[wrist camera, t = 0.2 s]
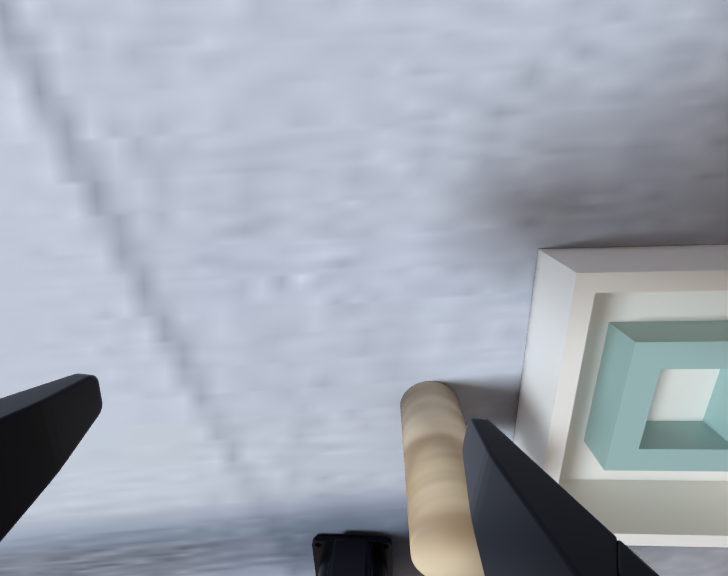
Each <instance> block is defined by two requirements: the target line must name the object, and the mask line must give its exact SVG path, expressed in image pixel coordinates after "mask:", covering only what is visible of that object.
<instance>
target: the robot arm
mask: <svg viewBox="0 0 728 576" xmlns="http://www.w3.org/2000/svg"><path fill="white" fill-rule="evenodd" d="M101 409H102V398H101V393H100V387H99V381H98V379H97V377H96V376H94V375H88V374H74V375H71V376H68V377H65V378H61V379H58V380H55V381H52V382H49V383H46V384H43V385H40V386H37V387H34V388H31V389H28V390H25V391H22V392H19V393H16V394H13V395H10V396H7V397H4V398H1V399H0V542H1V541H2V539H3V538H4V537H5V536H6V535H7V533H8V532H9V531H10V530H11V529H12V527H13V526H14V525H15V524H16V523H17V521H18V520H19V519H20V518H21V517H22V515H23V514H24V513H25V512H26V511H27V509H28V508H29V507H30V506H31V505H32V504H33V502H34V501H35V500H36V499H37V498H38V496H39V495H40V494H41V493H42V492H43V490H44V489H45V488H46V487H47V486H48V484H49V483H50V482H51V481H52V479H53V478H54V477H55V476H56V475H57V473H58V472H59V471H60V469H61V468H62V467H63V465H64V464H65V462H66V461H67V460H68V458H69V457H70V455H71V454H72V452H73V451H74V450H75V448H76V447H77V445H78V444H79V443H80V441H81V440H82V438H83V437H84V435H85V434H86V433H87V431H88V430H89V428H90V427H91V425H92V424H93V423H94V421H95V420H96V418H97V417H98V415H99V414H100V412H101ZM462 454H463V462H464V470H465V477H466V485H467V492H468V500H469V507H470V514H471V521H472V525H473V530H474V534H475V538H476V542H477V547H478V551H479V555H480V559H481V563H482V567H483V571H484V575H485V576H659V575H658V574H657V573H656V572H655V571H654V570H653V569H652V568H650V567H649V566H648V565H647V564H646V563H645V562H644V561H643V560H641V559H640V558H639V557H638V556H637V555H636V554H635V553H634V552H633V551H632V550H630V549H629V548H628V547H627V546H626V545H625V544H624V543H623V542H622V541H620V540H618V541H617V537H616V536H615V535H614V534H613V533H612V532H611V531H609V530H608V529H607V528H606V527H605V526H604V525H603V524H602V523H601V522H600V521H599V520H597V519H596V518H595V517H594V516H593V515H592V514H591V513H590V512H589V511H588V510H587V509H585V508H584V507H583V506H582V505H581V504H580V503H579V502H578V501H577V500H576V499H575V498H573V497H572V496H571V495H570V494H569V493H568V492H567V491H566V490H565V489H564V488H563V487H561V486H560V485H559V484H558V483H557V482H556V481H555V480H554V479H553V478H552V477H551V476H549V475H548V474H547V473H546V472H545V471H544V470H543V469H542V468H541V467H540V466H539V465H537V464H536V463H535V462H534V461H533V460H532V459H531V458H530V457H529V456H528V455H527V454H525V453H524V452H523V451H522V450H521V449H520V448H519V447H518V446H517V445H516V444H515V443H513V442H512V441H511V440H510V439H509V438H508V437H507V436H506V435H505V434H504V433H503V432H501V431H500V430H499V429H498V428H497V427H496V426H495V425H494V424H493V423H492V422H491V421H489V420H488V419H484V418H475V417H472V418H470V419H469V421H468V425H467V429H466V433H465V437H464V442H463V448H462ZM312 547H313V555H314V563H315V571H316V576H392V540H391V539H390V538H387V537H345V536H316V537H314V538H313V543H312Z"/></svg>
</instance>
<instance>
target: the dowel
mask: <svg viewBox="0 0 728 576" xmlns="http://www.w3.org/2000/svg"><path fill="white" fill-rule="evenodd" d="M400 407H401V422H402V436H403V451H404V465H405V480H406V494H407V508H408V523H409V537H410V552H411V559H412V562H413V564H414V565H415V567H416V568H417V569H418V570H419V571H420V572H421V573H422V574H423V575H425V576H485V575H484V571H483V567H482V563H481V559H480V555H479V551H478V547H477V542H476V538H475V534H474V530H473V525H472V521H471V514H470V507H469V500H468V492H467V485H466V477H465V470H464V462H463V454H462V448H463V442H464V437H465V433H466V429H467V428H466V424H465V421H464V418H463V414H462V411H461V408H460V405H459V401H458V398H457V396H456V394H455V393H454V391H453V390H452V389H451V388H450V387H448V386H446V385H445V384H442V383H439V382H434V381H427V382H421V383H418V384H416V385H414V386H412V387H411V388H409V389H408V390H407V391H406V392H405V394H404V395H403V397H402V399H401V405H400Z"/></svg>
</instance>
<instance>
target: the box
mask: <svg viewBox="0 0 728 576" xmlns="http://www.w3.org/2000/svg"><path fill="white" fill-rule="evenodd" d="M513 443H515V444H516V445H517V446H518V447H519V448H520V449H521V450H522V451H523V452H524V453H525V454H527V455H528V456H529V457H530V458H531V459H532V460H533V461H534V462H535V463H536V464H537V465H539V466H540V467H541V468H542V469H543V470H544V471H545V472H546V473H547V474H548V475H549V476H551V477H552V478H553V479H554V480H555V481H556V482H557V483H558V484H559V485H560V486H561V487H563V488H564V489H565V490H566V491H567V492H568V493H569V494H570V495H571V496H572V497H573V498H575V499H576V500H577V501H578V502H579V503H580V504H581V505H582V506H583V507H584V508H585V509H587V510H588V511H589V512H590V513H591V514H592V515H593V516H594V517H595V518H596V519H597V520H599V521H600V522H601V523H602V524H603V525H604V526H605V527H606V528H607V529H608V530H609V531H611V532H612V533H613V534H614V535H615V536H616V537H617V541H618V540H620V541H622V542H623V543H624V544H625V545H639V546H687V547H728V244H726V245H685V246H644V247H603V248H563V249H538V256H537V263H536V271H535V279H534V286H533V294H532V302H531V310H530V317H529V325H528V333H527V341H526V348H525V356H524V364H523V371H522V379H521V387H520V395H519V402H518V410H517V418H516V425H515V433H514V441H513Z"/></svg>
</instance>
